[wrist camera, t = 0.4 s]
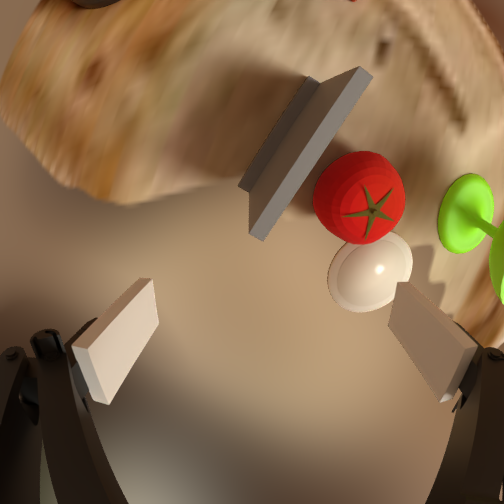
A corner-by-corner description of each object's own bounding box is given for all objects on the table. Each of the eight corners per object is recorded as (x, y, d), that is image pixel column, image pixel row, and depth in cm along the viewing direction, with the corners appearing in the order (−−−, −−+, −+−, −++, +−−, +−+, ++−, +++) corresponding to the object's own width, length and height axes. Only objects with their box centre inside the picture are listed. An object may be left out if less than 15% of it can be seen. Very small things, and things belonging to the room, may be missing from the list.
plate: (368, 210, 39) (370, 212, 39) (425, 257, 43) (427, 260, 42) (308, 288, 46) (309, 291, 45) (371, 320, 49) (372, 323, 49)
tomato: (291, 191, 38) (305, 217, 29) (350, 131, 34) (383, 137, 25) (342, 239, 42) (366, 275, 32) (396, 185, 38) (433, 208, 28)
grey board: (307, 77, 31) (342, 53, 17) (338, 97, 32) (388, 89, 19) (238, 184, 38) (231, 224, 24) (269, 202, 39) (279, 250, 26)
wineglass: (423, 223, 40) (489, 279, 24) (470, 155, 34) (546, 186, 18) (459, 266, 44) (511, 320, 28) (500, 209, 38) (559, 248, 22)
